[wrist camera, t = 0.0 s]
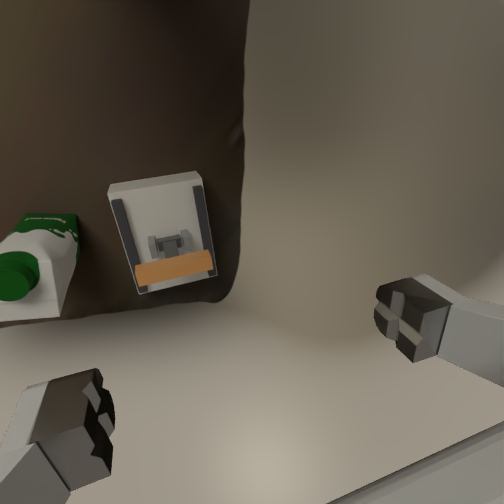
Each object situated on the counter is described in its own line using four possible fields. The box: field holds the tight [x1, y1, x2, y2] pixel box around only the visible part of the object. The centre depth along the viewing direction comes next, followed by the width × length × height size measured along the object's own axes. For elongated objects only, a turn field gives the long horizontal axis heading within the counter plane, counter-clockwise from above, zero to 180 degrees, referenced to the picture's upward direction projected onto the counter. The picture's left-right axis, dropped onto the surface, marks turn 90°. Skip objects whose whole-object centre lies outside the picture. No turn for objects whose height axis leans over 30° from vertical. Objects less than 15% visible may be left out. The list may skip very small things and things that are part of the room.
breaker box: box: [107, 171, 218, 294], centre depth 52 cm, size 18×14×10 cm
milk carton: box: [0, 214, 80, 321], centre depth 42 cm, size 9×9×20 cm
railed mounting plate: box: [111, 185, 217, 294], centre depth 50 cm, size 16×13×1 cm
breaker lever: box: [135, 234, 213, 287], centre depth 46 cm, size 2×10×10 cm, turn 95°
